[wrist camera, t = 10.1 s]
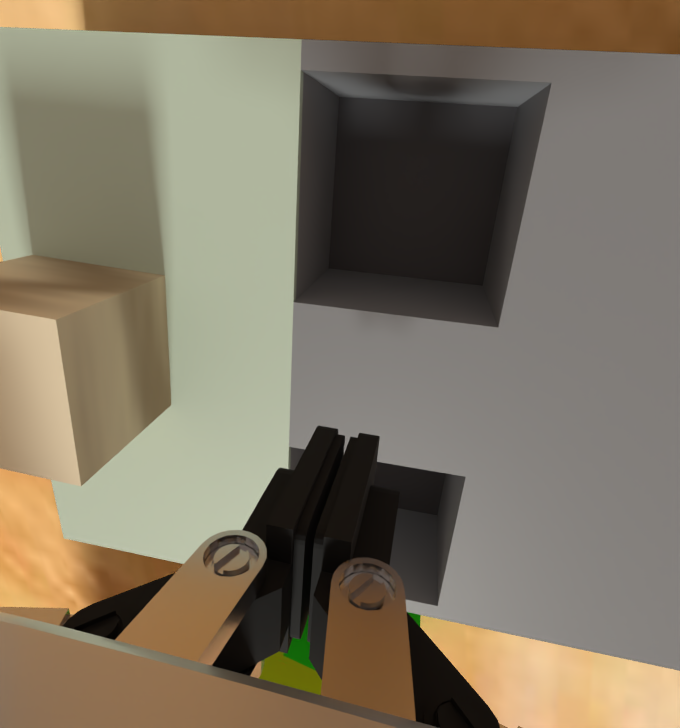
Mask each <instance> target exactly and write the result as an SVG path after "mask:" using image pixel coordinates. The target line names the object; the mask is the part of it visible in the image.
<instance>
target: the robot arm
mask: <svg viewBox="0 0 680 728" xmlns="http://www.w3.org/2000/svg"><path fill="white" fill-rule="evenodd" d="M379 439H380V436H377V435H371V434H365V433H359V435H358V438H356V437H350V439H349V442H348V445H347V447H346V450H345V453H344V445H345V435H339V434H338V429H336V428H330V427H324V426H317V427H316V429H315V431H314V433H313V435H312V437H311V439H310V441H309V443H308V445H307V447H306V449H305V451H304V453H303V454H302V456H301V458H300V460H299V462H298V464H297V466H296V468H295V470H291V469H285V468H278V470H277V471H276V472H275V474H274V476H273V478H272V479H271V481H270V483H269V484H268V486H267V488H266V490H265V491H264V493H263V495H262V497H261V498H260V500H259V502H258V503H257V505H256V507H255V509H254V510H253V512H252V514H251V516H250V517H249V519H248V521H247V522H246V524H245V526H244V528H243V529H242V530H228V531H224V532H220V533H217V534H215V535H213V536H211V537H209V538H208V539H207V540H206V541H205V542H203V543H202V544H201V545H200V546H199V548H198V549H197V550H196V551H195V552H194V553H193V554H192V555H191V556H190V557H189V559H188V560H187V561H186V562H185V563H184V564H183V565H182V566H181V567H180V569H179V570H178V571H177V572H176V573H173V574H171V575H168V576H166V577H163V578H160V579H158V580H155V581H152V582H150V583H147V584H144V585H142V586H139V587H137V588H134V589H131V590H129V591H126V592H123V593H121V594H118V595H115V596H113V597H110V598H107V599H105V600H102V601H100V602H97V603H94V604H92V605H90V606H88V607H86V608H84V609H82V610H80V611H78V612H77V613H76V614H74V615H70V612H69V608H28V607H0V728H507V727H505V726H503V725H501V724H499V723H498V720H497V718H496V717H495V715H494V714H493V712H492V711H491V710H490V708H489V707H488V705H487V704H486V703H485V702H484V701H483V699H482V698H481V697H480V696H479V695H478V694H477V693H476V691H475V690H474V689H473V688H472V687H471V686H470V684H469V683H468V682H467V681H466V680H465V679H464V677H463V676H462V675H461V674H460V673H459V672H458V670H457V669H456V668H455V667H454V666H453V665H452V664H451V662H450V661H449V660H448V659H447V658H446V657H445V655H444V654H443V653H442V652H441V651H440V650H439V648H438V647H437V646H436V645H435V644H434V643H433V641H432V640H431V639H430V638H429V637H428V636H427V635H426V633H425V632H424V631H423V630H422V629H421V628H420V626H419V625H418V624H417V623H416V622H415V621H414V619H413V618H412V617H411V616H410V615H409V614H408V612H407V611H406V599H405V589H404V585H403V581H402V579H401V577H400V576H399V574H398V573H397V571H395V570H394V569H393V568H392V567H391V566H389V565H390V558H391V551H392V544H393V537H394V531H395V524H396V517H397V510H398V503H399V496H400V490H396V489H391V488H385V487H380V486H375V485H374V480H375V472H376V464H377V456H378V448H379ZM308 615H309V619H308V634H307V641H308V642H310V650H309V660H310V662H311V663H312V665H313V667H314V668H315V670H316V672H317V673H318V675H319V677H320V678H321V680H322V686H321V695H318V694H314V693H311V692H307V691H303V690H300V689H296V688H292V687H289V686H285V685H281V684H277V683H274V682H270V681H266V680H263V679H259V677H260V675H261V673H262V670H263V667H264V662H265V659H266V658H268V657H270V656H272V655H274V654H275V653H277V652H283V653H288V650H289V647H290V644H291V641H292V638H296V639H301V637H302V634H303V631H304V628H305V625H306V622H307V618H308ZM518 728H522V727H520V726H518Z"/></svg>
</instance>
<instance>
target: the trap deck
mask: <svg viewBox="0 0 680 728" xmlns="http://www.w3.org/2000/svg"><path fill="white" fill-rule="evenodd" d="M0 248H1V253H2V257H3V261H7V260H11V259H16V258H20V257H25V256H29V255H37V256H44V257H50V258H57V259H63V260H69V261H76V262H82V263H89V264H95V265H101V266H108V267H114V268H121V269H127V270H134V271H140V272H146V273H153V274H159V275H165V286H166V306H167V326H168V346H169V366H170V386H171V406H170V407H169V408H167V409H166V410H165V411H164V412H163V413H162V414H161V415H160V416H159V417H157V418H156V419H155V420H154V421H153V422H152V423H151V424H150V425H149V426H148V427H146V428H145V429H144V430H143V431H142V432H141V433H140V434H139V435H138V436H136V437H135V438H134V439H133V440H132V441H131V442H130V443H129V444H128V445H126V446H125V447H124V448H123V449H122V450H121V451H120V452H119V453H118V454H117V455H115V456H114V457H113V458H112V459H111V460H110V461H109V462H108V463H107V464H105V465H104V466H103V467H102V468H101V469H100V470H99V471H98V472H97V473H96V474H94V475H93V476H92V477H91V478H90V479H89V480H88V481H87V482H86V483H84V484H83V485H82V486H77V485H72V484H68V483H64V482H59V481H55V480H51V482H52V486H53V491H54V495H55V500H56V504H57V509H58V514H59V518H60V523H61V527H62V532H63V537H64V538H65V539H69V540H74V541H79V542H83V543H88V544H93V545H97V546H102V547H107V548H111V549H116V550H121V551H125V552H130V553H135V554H139V555H144V556H149V557H153V558H158V559H163V560H167V561H172V562H177V563H181V564H184V563H185V562H186V561H187V560H188V559H189V557H190V556H191V555H192V554H193V553H194V552H195V551H196V550H197V549H198V548H199V546H200V545H201V544H202V543H203V542H205V541H206V540H207V539H208V538H209V537H211V536H213V535H215V534H217V533H220V532H224V531H228V530H242V529H243V528H244V526H245V524H246V522H247V521H248V519H249V517H250V516H251V514H252V512H253V510H254V509H255V507H256V505H257V503H258V502H259V500H260V498H261V497H262V495H263V493H264V491H265V490H266V488H267V486H268V484H269V483H270V481H271V479H272V478H273V476H274V474H275V472H276V471H277V470H278V468H285V469H291V470H295V468H296V466H297V464H298V462H299V460H300V458H301V456H302V454H303V453H304V451H305V449H306V447H307V445H308V443H309V441H310V439H311V437H312V435H313V433H314V431H315V429H316V427H317V426H324V427H330V428H336V429H338V434H339V435H345V445H344V453H345V450H346V447H347V445H348V442H349V439H350V437H356V438H358V435H359V433H365V434H371V435H377V436H380V439H379V448H378V456H377V464H376V472H375V480H374V485H375V486H380V487H385V488H391V489H396V490H400V496H399V503H398V510H397V517H396V524H395V531H394V537H393V544H392V551H391V558H390V565H389V566H391V567H392V568H393V569H394V570H395V571H397V573H398V574H399V576H400V577H401V579H402V581H403V585H404V589H405V599H406V611H407V612H409V613H414V614H419V615H423V616H428V617H433V618H437V619H442V620H447V621H451V622H456V623H461V624H465V625H470V626H475V627H479V628H484V629H489V630H493V631H498V632H503V633H507V634H512V635H516V636H521V637H526V638H530V639H535V640H540V641H544V642H549V643H554V644H558V645H563V646H568V647H572V648H577V649H582V650H586V651H591V652H596V653H600V654H605V655H610V656H614V657H619V658H624V659H628V660H633V661H638V662H642V663H647V664H652V665H656V666H661V667H666V668H670V669H675V670H679V671H680V54H655V53H631V52H606V51H581V50H556V49H531V48H507V47H482V46H457V45H432V44H407V43H383V42H358V41H333V40H308V39H284V38H259V37H234V36H209V35H184V34H160V33H135V32H110V31H85V30H61V29H36V28H11V27H0Z"/></svg>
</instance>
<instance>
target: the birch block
mask: <svg viewBox="0 0 680 728" xmlns="http://www.w3.org/2000/svg"><path fill="white" fill-rule="evenodd" d="M170 406H171V386H170V366H169V346H168V326H167V306H166V286H165V275H159V274H153V273H146V272H140V271H134V270H127V269H121V268H114V267H108V266H101V265H95V264H89V263H82V262H76V261H69V260H63V259H57V258H50V257H44V256H37V255H29V256H25V257H20V258H16V259H11V260H7V261H2V262H0V468H1V469H6V470H10V471H15V472H19V473H23V474H28V475H32V476H37V477H41V478H46V479H50V480H55V481H59V482H64V483H68V484H72V485H77V486H82V485H83V484H84V483H86V482H87V481H88V480H89V479H90V478H91V477H92V476H93V475H94V474H96V473H97V472H98V471H99V470H100V469H101V468H102V467H103V466H104V465H105V464H107V463H108V462H109V461H110V460H111V459H112V458H113V457H114V456H115V455H117V454H118V453H119V452H120V451H121V450H122V449H123V448H124V447H125V446H126V445H128V444H129V443H130V442H131V441H132V440H133V439H134V438H135V437H136V436H138V435H139V434H140V433H141V432H142V431H143V430H144V429H145V428H146V427H148V426H149V425H150V424H151V423H152V422H153V421H154V420H155V419H156V418H157V417H159V416H160V415H161V414H162V413H163V412H164V411H165V410H166V409H167V408H169V407H170Z"/></svg>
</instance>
